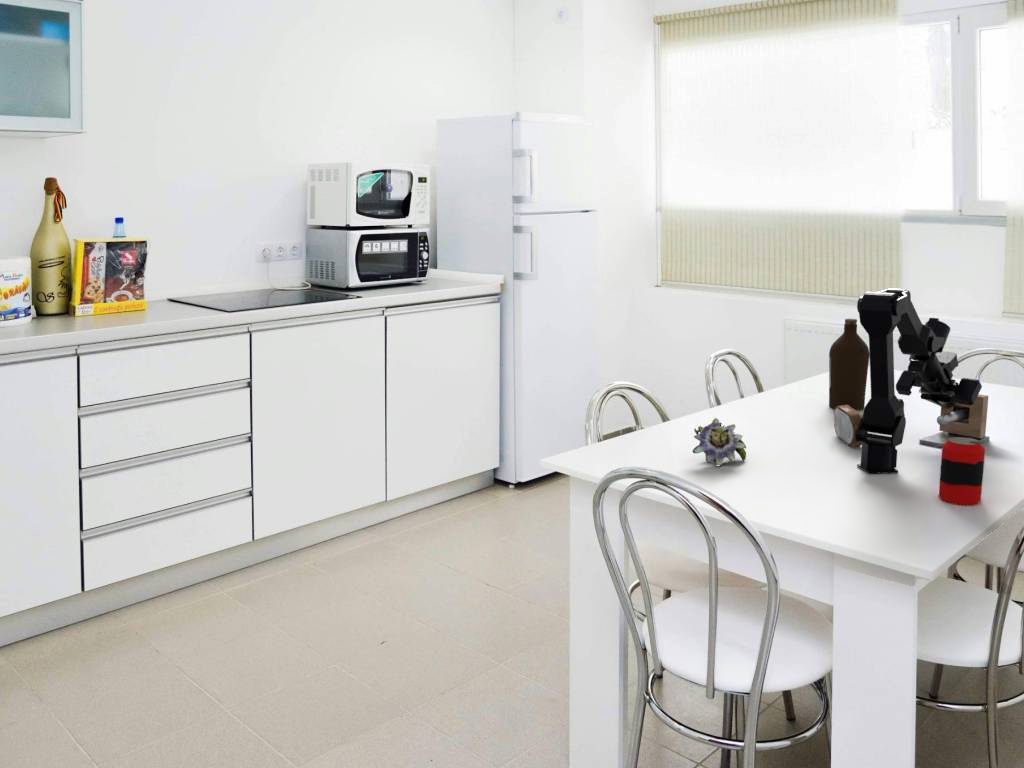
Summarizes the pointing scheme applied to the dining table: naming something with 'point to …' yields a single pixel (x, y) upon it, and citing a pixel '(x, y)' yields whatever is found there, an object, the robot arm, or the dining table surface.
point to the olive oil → (848, 368)
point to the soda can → (961, 471)
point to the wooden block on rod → (976, 418)
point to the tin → (846, 424)
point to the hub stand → (944, 436)
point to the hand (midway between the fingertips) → (947, 407)
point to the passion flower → (719, 442)
